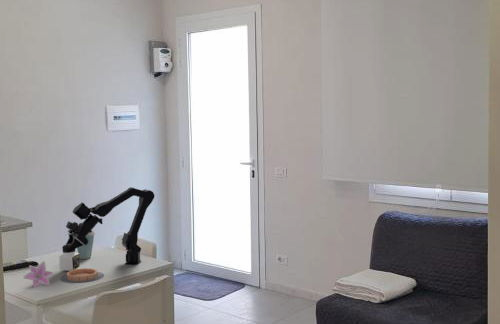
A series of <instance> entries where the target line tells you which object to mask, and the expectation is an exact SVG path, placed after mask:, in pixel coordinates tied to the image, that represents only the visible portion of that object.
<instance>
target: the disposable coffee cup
mask: <svg viewBox="0 0 500 324" xmlns="http://www.w3.org/2000/svg"><path fill="white" fill-rule="evenodd" d="M94 230H95V229H92V230H91V231H92V232H91V233H90V232H89V234H88V235H87V236H86V239H88V244H87V245H84V244H83V246H80V247H78V248H76V249H77V250H76V251H77V253H79V258H80V260H86V259H87V260H88V259H91V258H92V253H93V247H94V245H93V244H94V240H95V239H94V238H95V234H96V233H95V231H94Z"/></svg>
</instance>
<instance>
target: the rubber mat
mask: <svg viewBox="0 0 500 324" xmlns="http://www.w3.org/2000/svg"><path fill="white" fill-rule="evenodd" d="M104 276H105V275H104V273H102V272H99V271H98V277H96V278H95V279H91V280H87V281H71V280H67V273H66V274H64V275H62V276H61V277H60V278H59V279H60V281H61V282H63V283H66V284H67V283H69V284H83V283H84V284H85V283H92V282H96V281H99V280H101V279H103V278H104Z"/></svg>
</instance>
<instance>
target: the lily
mask: <svg viewBox="0 0 500 324" xmlns="http://www.w3.org/2000/svg"><path fill="white" fill-rule="evenodd" d="M28 267H29V271H30V272H28V273H26V274H24V276H23V279H25V280H29V281H32V285H33V286H32V287H33V288H34V287H37V286H39V285H40V284H43V285H45V286H50V285H51V283H50V280H49V278H48V277H49V276H51V275H52V274H53V272H52V271H48V270H46V269H47V267H46V261H43V260H42V262H40V263H39V264H38V266H33V265H31V264H30V265H28Z"/></svg>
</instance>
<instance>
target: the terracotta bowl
mask: <svg viewBox="0 0 500 324" xmlns="http://www.w3.org/2000/svg"><path fill="white" fill-rule="evenodd" d="M98 272H99V271H98V270H97V269H95V268H87V267H86V268H77V269H75V270H71V271H67V272H66V274H67V280H71V281H87V280H91V279H95V278H96V277H98Z"/></svg>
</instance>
